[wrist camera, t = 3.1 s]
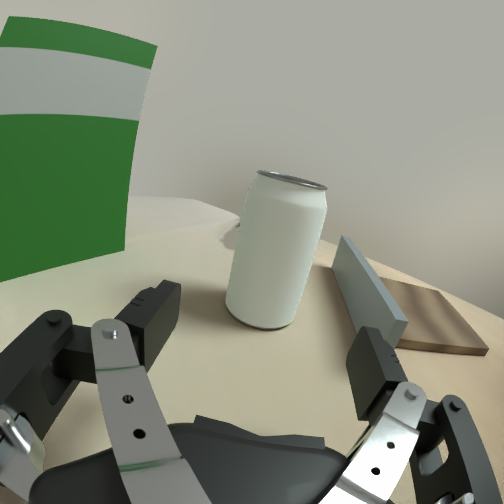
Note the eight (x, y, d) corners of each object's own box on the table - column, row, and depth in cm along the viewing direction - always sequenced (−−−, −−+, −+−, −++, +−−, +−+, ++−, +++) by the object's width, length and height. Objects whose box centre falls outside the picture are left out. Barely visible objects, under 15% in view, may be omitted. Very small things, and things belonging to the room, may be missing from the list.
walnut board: (435, 296, 38) (438, 291, 37) (485, 355, 22) (489, 348, 22) (350, 276, 38) (352, 270, 38) (383, 345, 23) (387, 336, 23)
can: (219, 290, 27) (243, 166, 23) (280, 293, 29) (310, 180, 25) (232, 331, 21) (266, 176, 17) (304, 331, 23) (348, 194, 19)
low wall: (339, 269, 40) (349, 237, 38) (381, 372, 19) (408, 321, 18) (331, 267, 40) (341, 235, 38) (368, 370, 19) (396, 319, 18)
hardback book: (96, 231, 34) (123, 56, 26) (124, 250, 31) (157, 46, 23) (-20, 257, 20) (-1, 40, 11) (-15, 286, 16) (8, 16, 8)
